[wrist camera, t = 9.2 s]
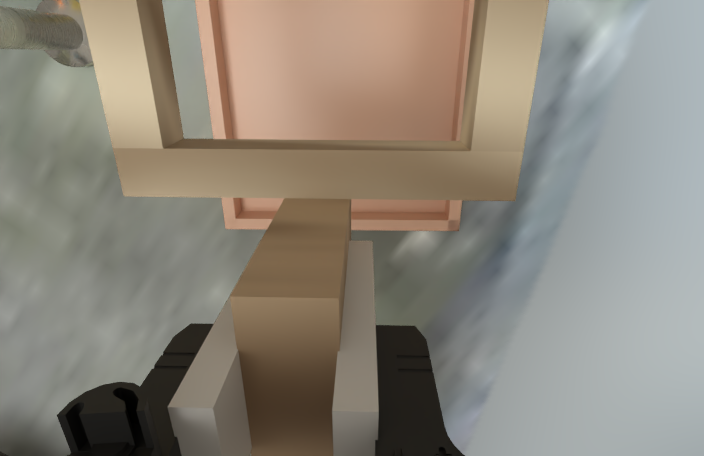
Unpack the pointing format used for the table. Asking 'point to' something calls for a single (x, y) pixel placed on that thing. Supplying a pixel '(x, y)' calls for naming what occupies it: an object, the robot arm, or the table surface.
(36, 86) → the table surface
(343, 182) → the tan wooden piece
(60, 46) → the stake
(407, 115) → the tray
